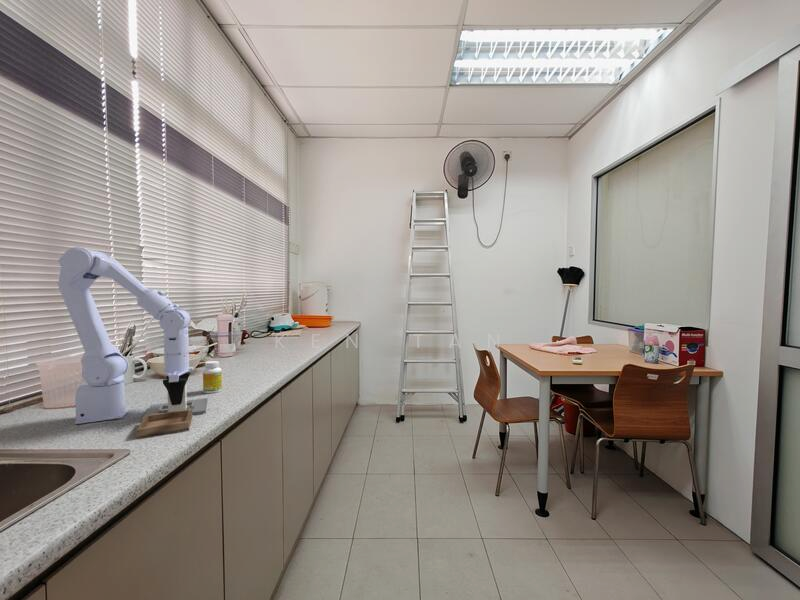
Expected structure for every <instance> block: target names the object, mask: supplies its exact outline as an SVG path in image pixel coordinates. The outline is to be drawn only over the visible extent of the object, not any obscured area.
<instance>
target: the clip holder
mask: <svg viewBox="0 0 800 600" xmlns="http://www.w3.org/2000/svg"><path fill="white" fill-rule="evenodd" d="M208 401H209V399H208V397H207V398H205V397H204V398H197V399H190V400H188V399H187V407H188V406H190V407H191V408H190V409H192V416H196V415H197V414H198V415H203V414H204V413H205V414H206V412H207V408H208ZM164 408H165V409H168V402H166V403H158V404H157V403H156V404H151V405H150V406H149V407H148V409H147V410H146V412H145V414H144V415H143V416H142V418H141V421H142V420H143V419H144V417H145V416H146V415H151V414H159V413H164V411H165V409H164Z"/></svg>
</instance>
